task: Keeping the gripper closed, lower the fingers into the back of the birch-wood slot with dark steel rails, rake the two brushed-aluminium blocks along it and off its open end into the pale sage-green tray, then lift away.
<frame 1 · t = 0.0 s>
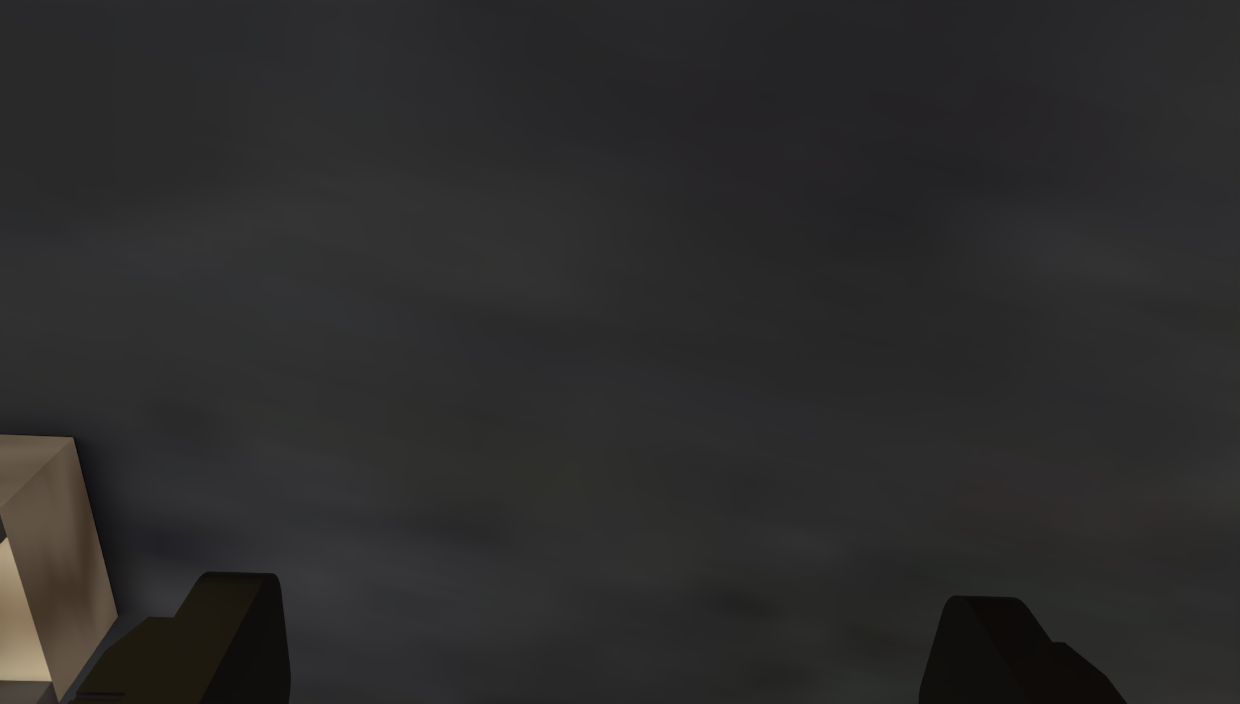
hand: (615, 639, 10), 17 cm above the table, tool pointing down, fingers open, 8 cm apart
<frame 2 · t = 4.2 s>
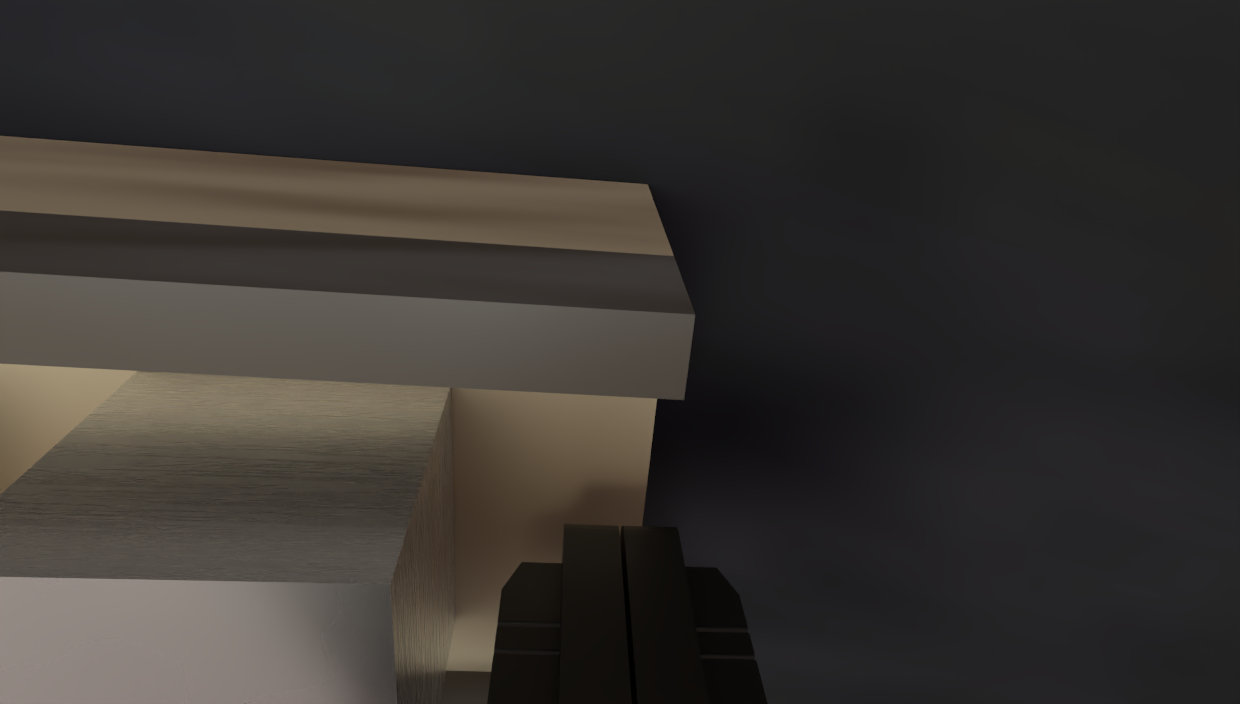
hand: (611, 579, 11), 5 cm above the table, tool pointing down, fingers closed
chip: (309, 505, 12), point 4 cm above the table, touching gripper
slot board: (244, 373, 15), on the table
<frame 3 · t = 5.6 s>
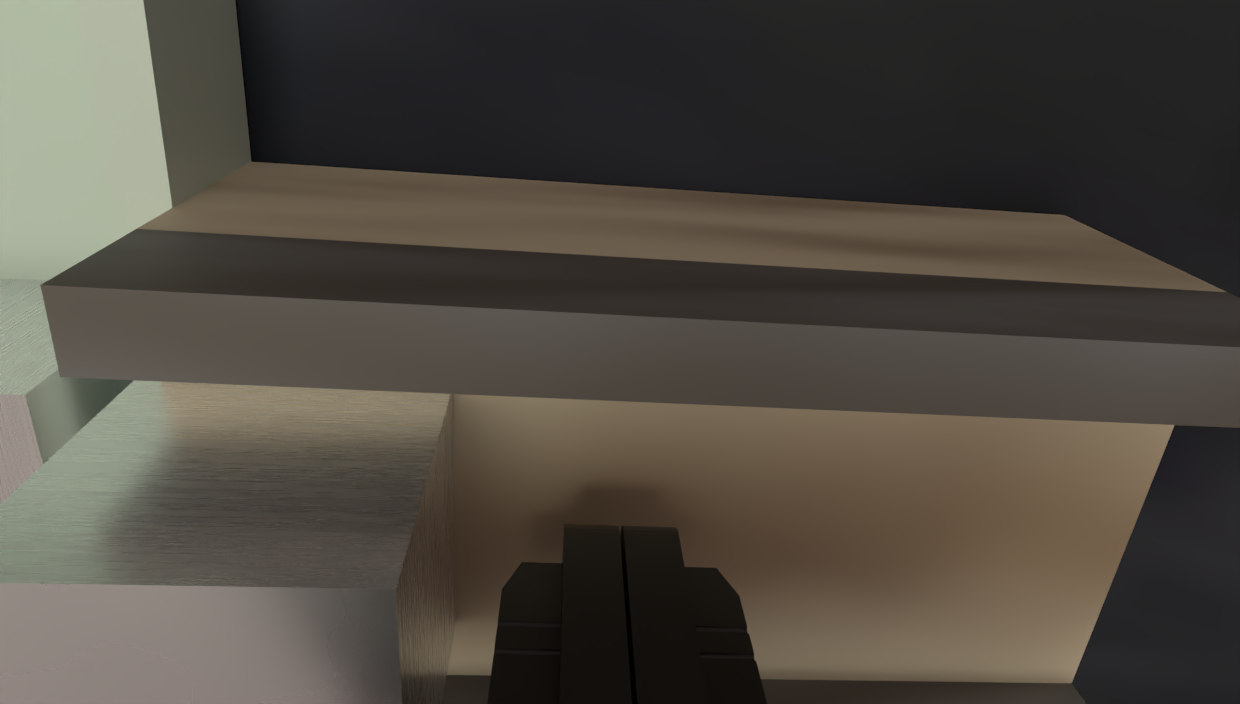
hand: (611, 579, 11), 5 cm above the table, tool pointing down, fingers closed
grey boxy piece: (132, 451, 13), point 3 cm above the table, tilted 90°, touching tray
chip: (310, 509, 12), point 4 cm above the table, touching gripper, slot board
slot board: (653, 397, 16), on the table
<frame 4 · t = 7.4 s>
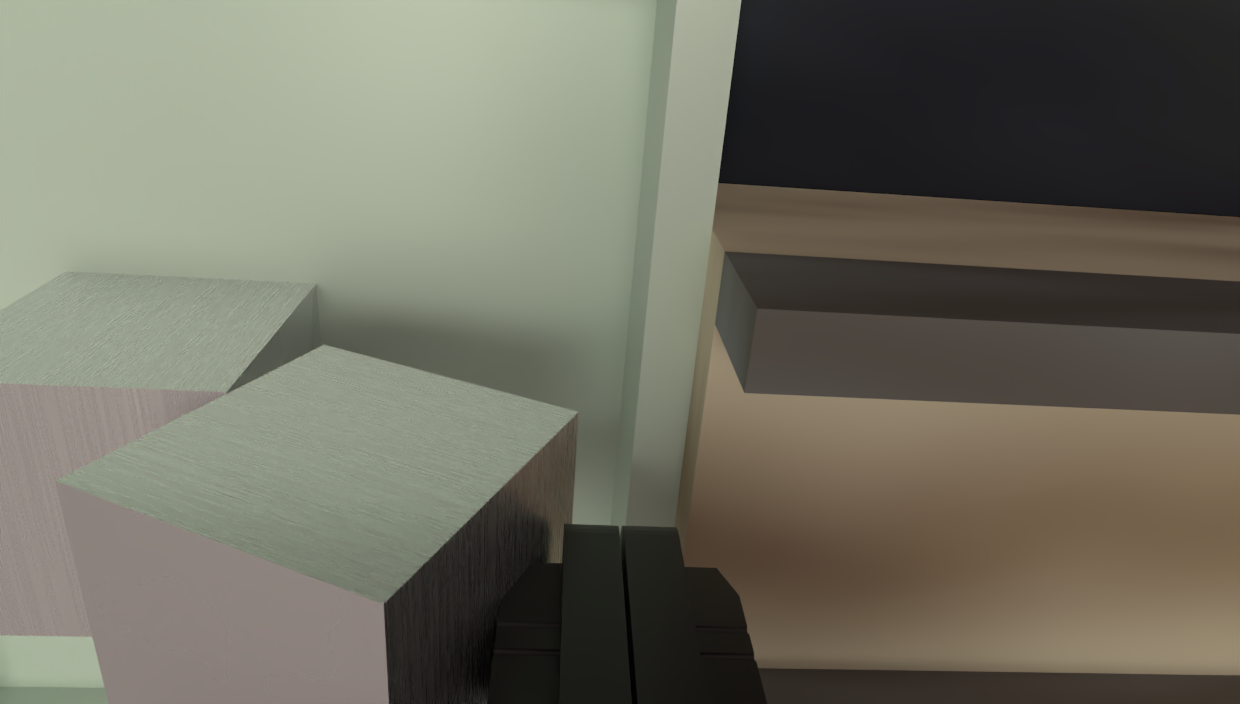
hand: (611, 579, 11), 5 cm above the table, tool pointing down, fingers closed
grey boxy piece: (290, 447, 13), point 3 cm above the table, tilted 90°, touching tray
tray: (283, 372, 15), on the table
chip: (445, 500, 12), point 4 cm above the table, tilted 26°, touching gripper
slot board: (1011, 404, 16), on the table
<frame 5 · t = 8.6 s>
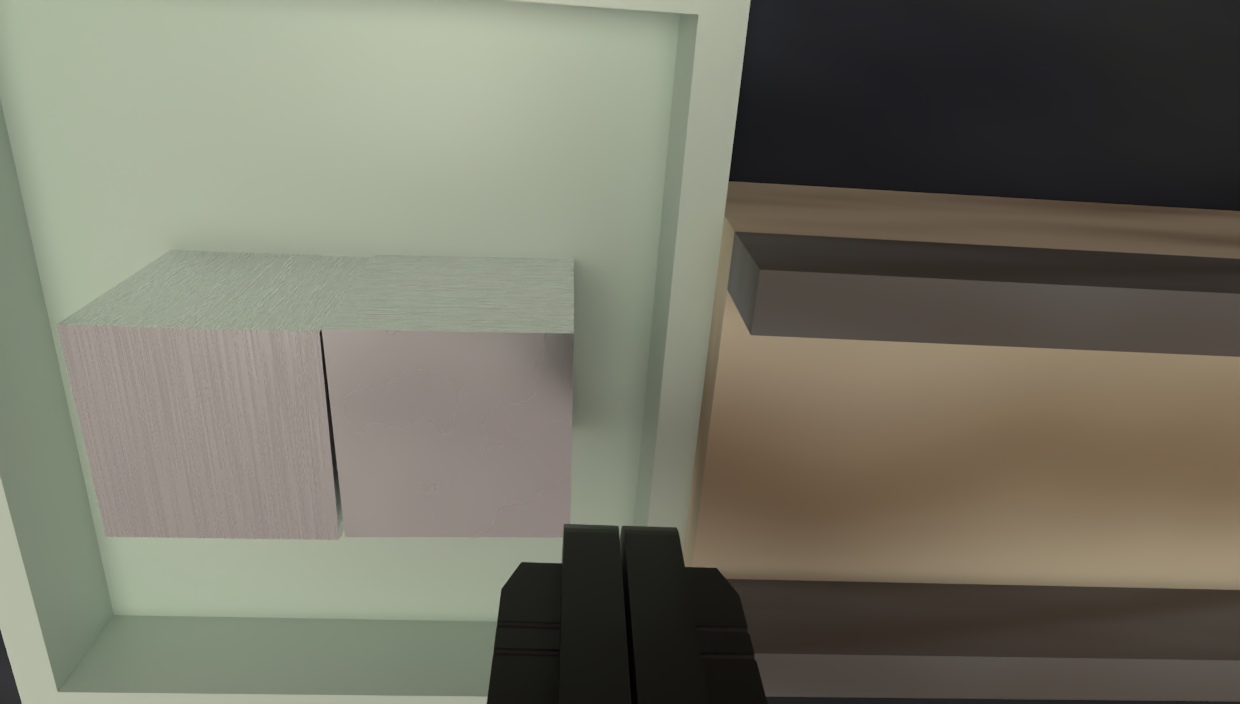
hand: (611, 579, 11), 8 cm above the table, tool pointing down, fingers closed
grey boxy piece: (357, 389, 16), point 3 cm above the table, tilted 90°, touching tray
tray: (365, 342, 18), on the table
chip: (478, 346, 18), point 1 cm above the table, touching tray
slot board: (979, 368, 19), on the table
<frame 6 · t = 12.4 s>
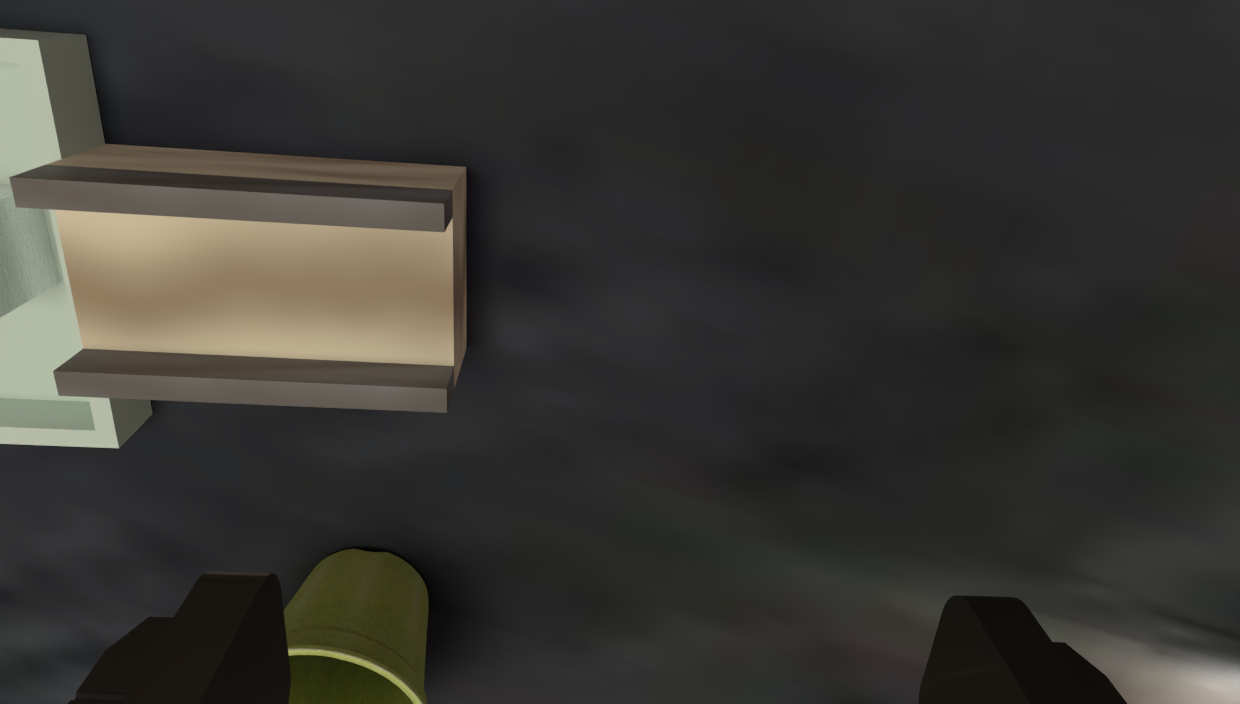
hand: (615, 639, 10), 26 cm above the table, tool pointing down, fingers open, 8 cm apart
slot board: (296, 252, 35), on the table
plant pot: (368, 592, 42), on the table
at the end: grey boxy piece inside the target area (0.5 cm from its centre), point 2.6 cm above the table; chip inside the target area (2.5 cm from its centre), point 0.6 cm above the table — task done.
